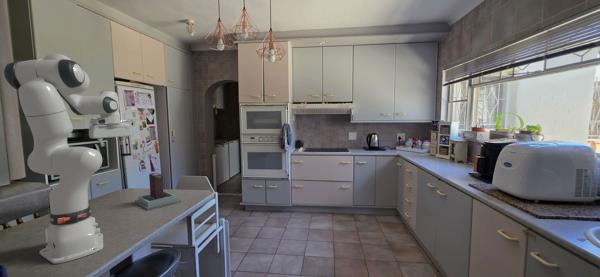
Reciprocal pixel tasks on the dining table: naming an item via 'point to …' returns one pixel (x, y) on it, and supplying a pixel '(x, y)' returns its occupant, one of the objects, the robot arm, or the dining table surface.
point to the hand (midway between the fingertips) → (112, 145)
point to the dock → (157, 201)
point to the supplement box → (156, 186)
